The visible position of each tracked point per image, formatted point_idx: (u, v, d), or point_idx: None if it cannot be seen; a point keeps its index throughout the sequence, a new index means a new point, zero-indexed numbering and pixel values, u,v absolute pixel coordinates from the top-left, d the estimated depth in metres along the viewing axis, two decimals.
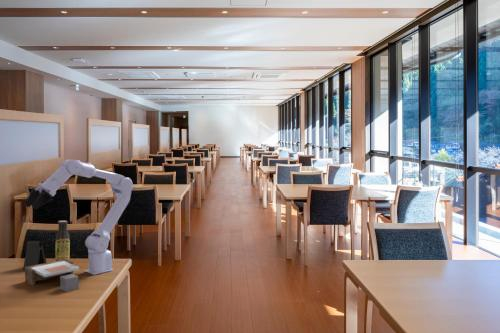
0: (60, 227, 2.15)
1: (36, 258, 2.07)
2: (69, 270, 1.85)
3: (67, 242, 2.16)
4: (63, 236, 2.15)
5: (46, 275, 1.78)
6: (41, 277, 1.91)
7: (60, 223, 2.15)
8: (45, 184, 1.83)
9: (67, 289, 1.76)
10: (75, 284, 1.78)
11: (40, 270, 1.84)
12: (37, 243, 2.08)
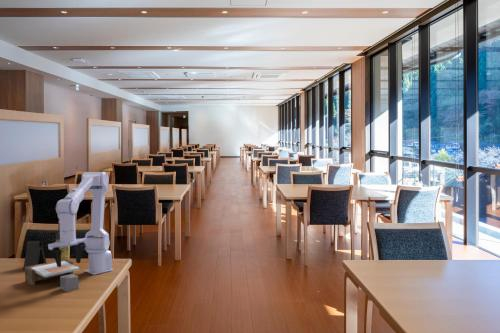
0: None
1: (36, 258, 2.07)
2: (69, 270, 1.85)
3: None
4: None
5: (46, 275, 1.78)
6: (41, 277, 1.91)
7: None
8: (74, 239, 1.77)
9: (67, 289, 1.76)
10: (75, 284, 1.78)
11: (40, 270, 1.84)
12: (37, 243, 2.08)
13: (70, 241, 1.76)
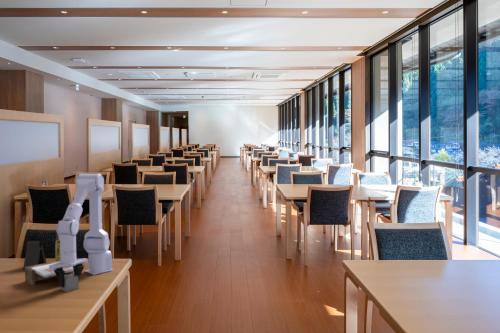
0: None
1: (36, 258, 2.07)
2: (69, 270, 1.85)
3: None
4: None
5: (46, 275, 1.78)
6: (41, 277, 1.91)
7: None
8: (74, 260, 1.78)
9: (67, 289, 1.76)
10: (75, 284, 1.78)
11: (40, 270, 1.84)
12: (37, 243, 2.08)
13: (71, 262, 1.76)
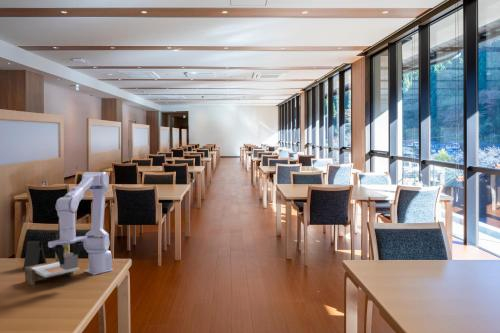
0: None
1: (36, 258, 2.07)
2: (69, 270, 1.85)
3: None
4: None
5: (46, 275, 1.78)
6: (41, 277, 1.91)
7: None
8: (74, 237, 1.77)
9: (66, 267, 1.76)
10: (74, 262, 1.78)
11: (40, 270, 1.84)
12: (37, 243, 2.08)
13: (70, 239, 1.76)
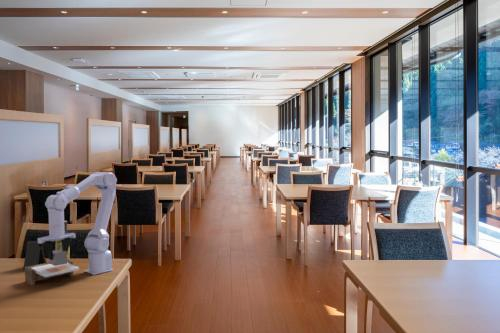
0: None
1: (36, 258, 2.07)
2: (69, 270, 1.85)
3: None
4: None
5: (46, 275, 1.78)
6: (41, 277, 1.91)
7: None
8: (62, 234, 1.84)
9: (56, 263, 1.82)
10: (63, 258, 1.84)
11: (40, 270, 1.84)
12: (37, 243, 2.08)
13: (59, 235, 1.83)
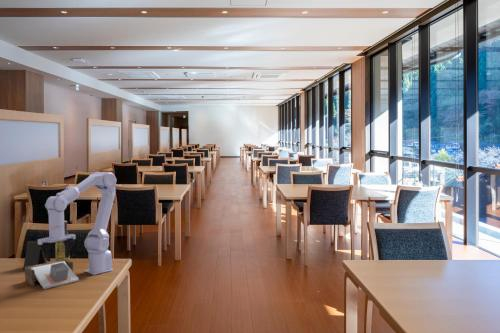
0: None
1: (36, 258, 2.07)
2: (68, 282, 1.86)
3: None
4: None
5: (45, 287, 1.79)
6: None
7: None
8: (62, 235, 1.84)
9: (56, 280, 1.83)
10: (64, 275, 1.85)
11: (40, 276, 1.84)
12: (37, 243, 2.08)
13: (59, 236, 1.83)
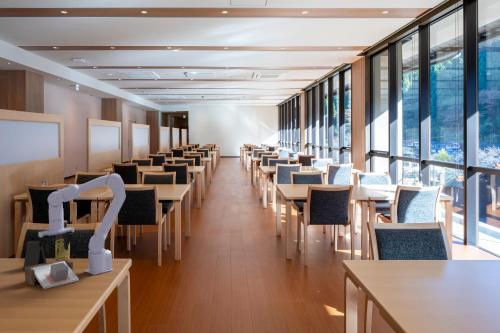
0: None
1: (36, 258, 2.07)
2: (68, 282, 1.86)
3: None
4: None
5: (45, 287, 1.79)
6: None
7: None
8: (62, 228, 1.96)
9: (56, 280, 1.83)
10: (64, 275, 1.85)
11: (40, 276, 1.84)
12: (37, 243, 2.08)
13: (58, 229, 1.95)
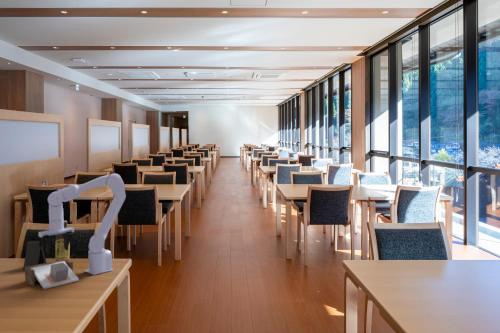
0: None
1: (36, 258, 2.07)
2: (68, 282, 1.86)
3: None
4: None
5: (45, 287, 1.79)
6: None
7: None
8: (62, 228, 1.96)
9: (56, 280, 1.83)
10: (64, 275, 1.85)
11: (40, 276, 1.84)
12: (37, 243, 2.08)
13: (58, 229, 1.95)
